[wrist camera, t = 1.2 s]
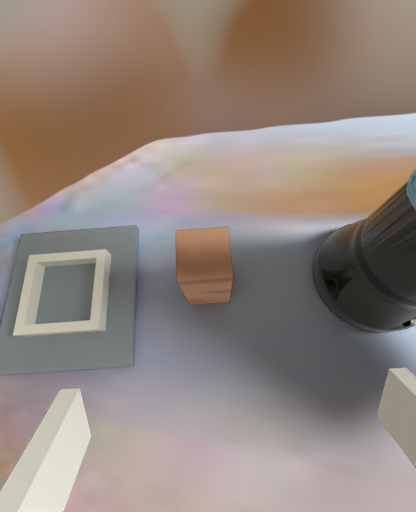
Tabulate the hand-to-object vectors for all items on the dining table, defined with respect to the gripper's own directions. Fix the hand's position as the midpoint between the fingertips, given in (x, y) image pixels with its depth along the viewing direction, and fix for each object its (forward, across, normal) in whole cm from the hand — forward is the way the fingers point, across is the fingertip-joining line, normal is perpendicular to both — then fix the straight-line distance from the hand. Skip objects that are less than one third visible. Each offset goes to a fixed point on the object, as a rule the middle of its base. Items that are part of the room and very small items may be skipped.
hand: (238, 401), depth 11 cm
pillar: (+25, 0, -6) cm, 26 cm away
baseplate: (+26, -19, -8) cm, 33 cm away
